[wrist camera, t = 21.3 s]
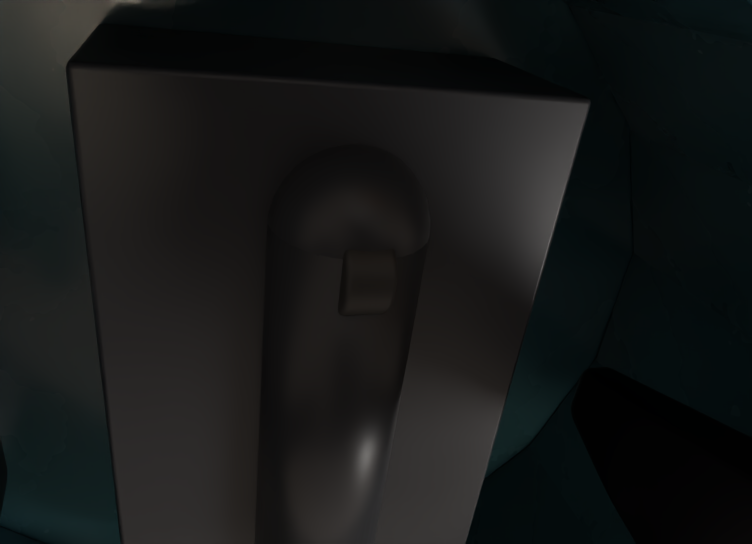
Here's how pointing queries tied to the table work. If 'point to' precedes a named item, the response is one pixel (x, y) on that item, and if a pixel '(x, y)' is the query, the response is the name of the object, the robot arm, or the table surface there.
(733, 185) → the pot
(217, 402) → the dark grey block
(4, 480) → the robot arm
